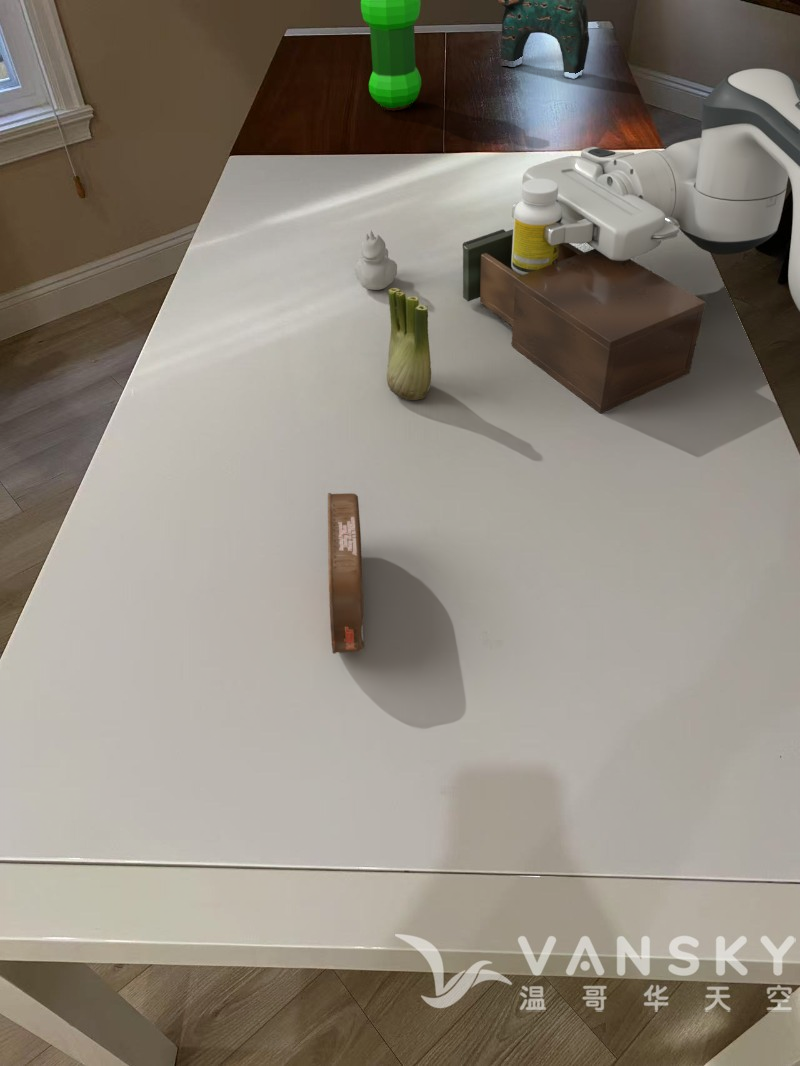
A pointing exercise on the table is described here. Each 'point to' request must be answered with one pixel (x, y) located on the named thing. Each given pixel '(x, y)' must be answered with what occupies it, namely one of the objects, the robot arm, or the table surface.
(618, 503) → the table surface
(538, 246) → the supplement bottle
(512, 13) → the ceramic cat
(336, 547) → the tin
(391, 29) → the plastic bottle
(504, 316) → the drawer
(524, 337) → the cabinet
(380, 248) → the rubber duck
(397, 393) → the fennel bulb
